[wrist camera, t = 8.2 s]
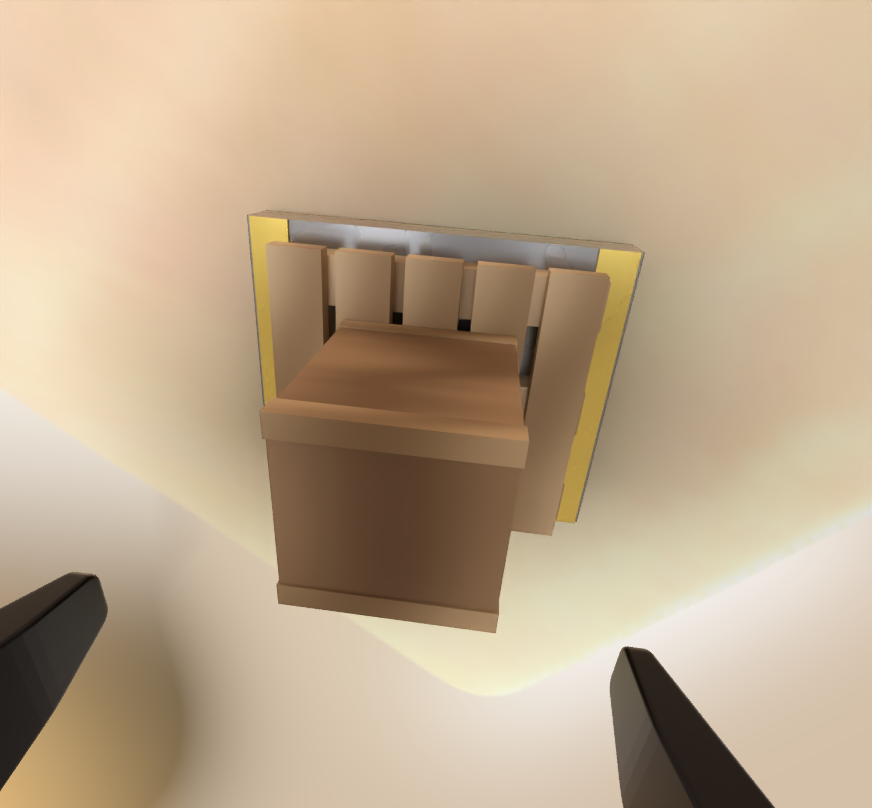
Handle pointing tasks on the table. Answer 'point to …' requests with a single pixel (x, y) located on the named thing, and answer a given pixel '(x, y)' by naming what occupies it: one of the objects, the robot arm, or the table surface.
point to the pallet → (441, 308)
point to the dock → (471, 247)
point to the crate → (398, 474)
